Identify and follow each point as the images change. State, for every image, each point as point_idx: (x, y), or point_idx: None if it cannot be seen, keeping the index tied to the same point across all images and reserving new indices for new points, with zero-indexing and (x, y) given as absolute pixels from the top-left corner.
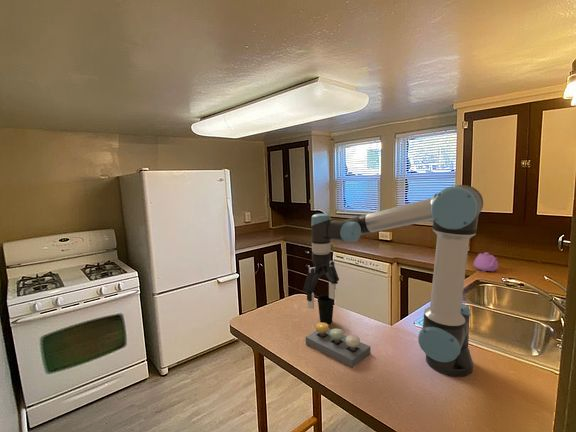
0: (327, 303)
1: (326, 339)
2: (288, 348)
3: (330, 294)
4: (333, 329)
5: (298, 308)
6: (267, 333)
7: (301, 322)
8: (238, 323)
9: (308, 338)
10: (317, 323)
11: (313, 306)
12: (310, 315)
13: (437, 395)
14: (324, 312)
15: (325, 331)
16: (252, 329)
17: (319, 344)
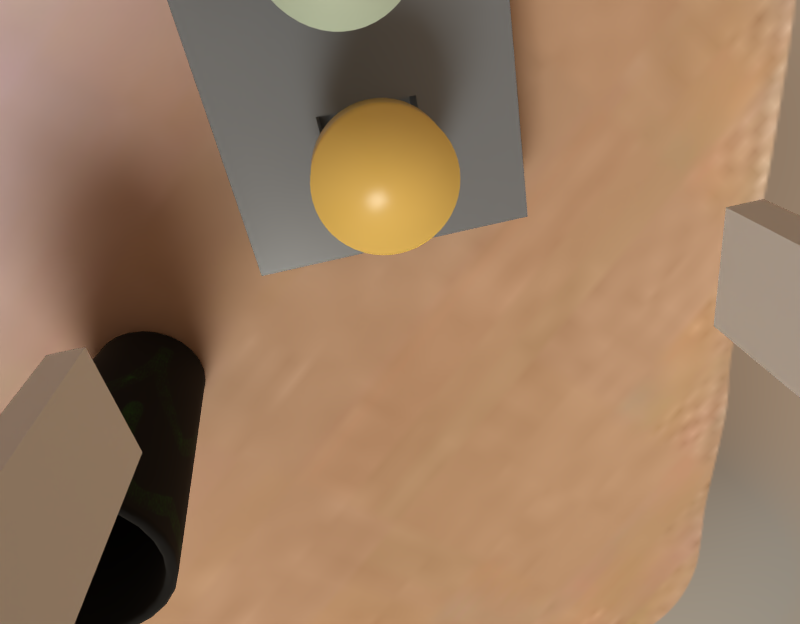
0: None
1: (400, 54)
2: (651, 214)
3: (98, 482)
4: (332, 14)
5: (237, 610)
6: (618, 442)
7: (335, 457)
8: (661, 594)
9: (523, 179)
10: (401, 251)
11: (786, 223)
12: (211, 508)
13: None
14: (164, 419)
15: (392, 101)
16: (651, 515)
17: (509, 29)
